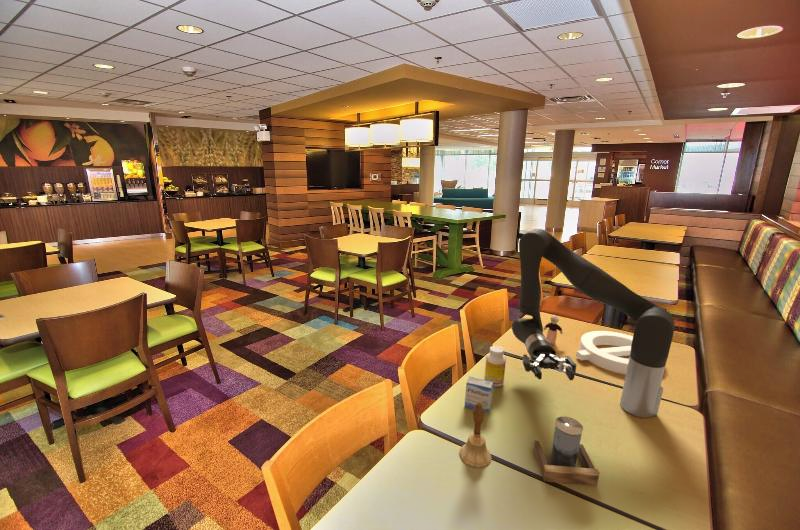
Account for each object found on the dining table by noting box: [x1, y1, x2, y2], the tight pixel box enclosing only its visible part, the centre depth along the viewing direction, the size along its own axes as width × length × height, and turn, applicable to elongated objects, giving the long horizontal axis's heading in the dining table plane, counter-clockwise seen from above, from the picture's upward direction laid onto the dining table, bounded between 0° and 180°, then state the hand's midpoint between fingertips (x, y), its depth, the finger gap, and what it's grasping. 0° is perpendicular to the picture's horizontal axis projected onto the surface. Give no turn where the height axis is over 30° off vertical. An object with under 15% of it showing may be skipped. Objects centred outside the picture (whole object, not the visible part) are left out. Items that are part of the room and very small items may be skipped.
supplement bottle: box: [483, 345, 507, 388], centre depth 130 cm, size 7×7×13 cm
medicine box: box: [464, 375, 494, 413], centre depth 117 cm, size 8×4×9 cm, turn 68°
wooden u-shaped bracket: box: [533, 440, 600, 487], centre depth 95 cm, size 12×10×4 cm
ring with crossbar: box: [575, 330, 633, 376], centre depth 150 cm, size 28×28×5 cm
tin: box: [549, 416, 584, 467], centre depth 94 cm, size 6×6×12 cm
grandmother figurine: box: [543, 315, 563, 346], centre depth 158 cm, size 8×4×13 cm, turn 67°
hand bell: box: [459, 402, 492, 469], centre depth 97 cm, size 8×8×16 cm
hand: (556, 377), depth 104 cm, fingers open, 8 cm apart
